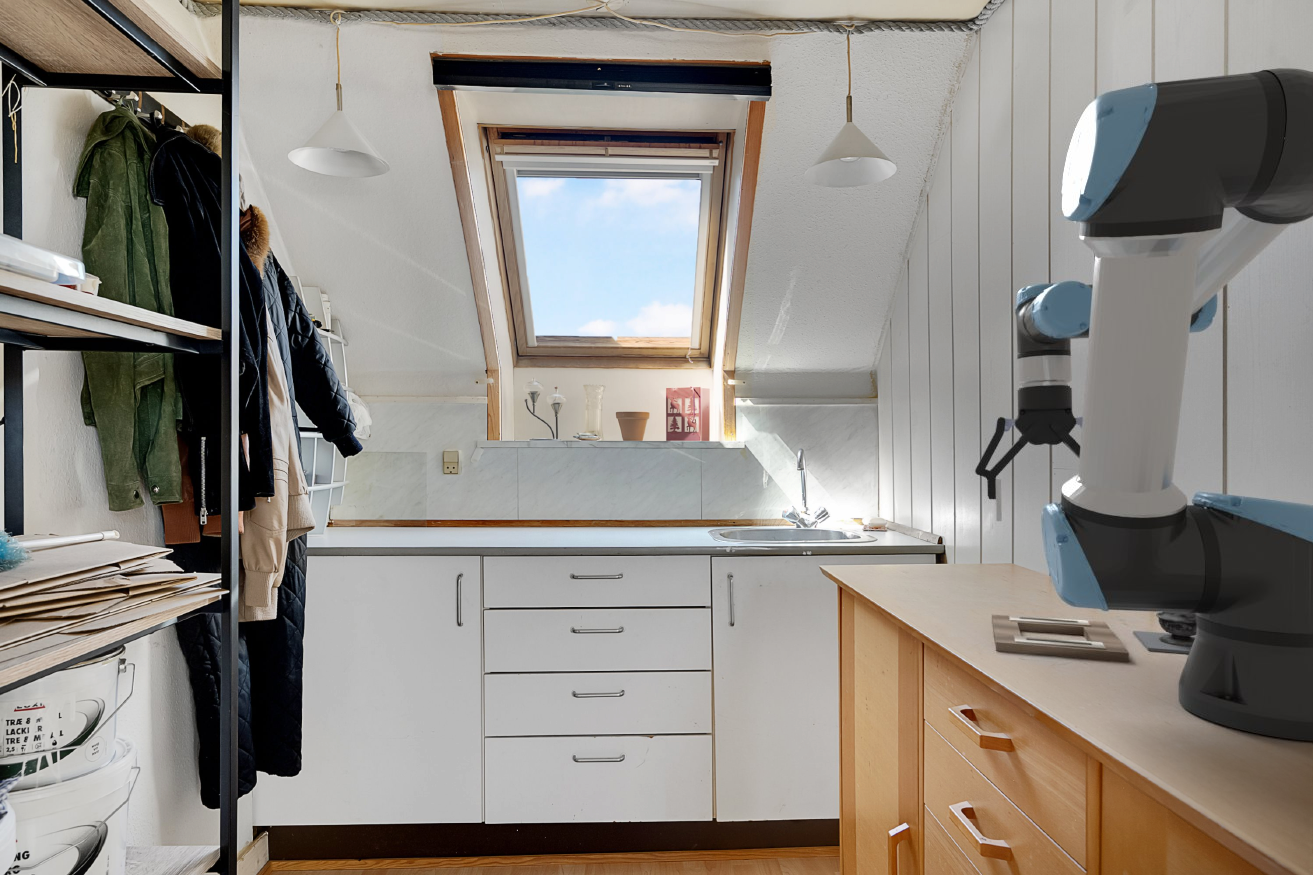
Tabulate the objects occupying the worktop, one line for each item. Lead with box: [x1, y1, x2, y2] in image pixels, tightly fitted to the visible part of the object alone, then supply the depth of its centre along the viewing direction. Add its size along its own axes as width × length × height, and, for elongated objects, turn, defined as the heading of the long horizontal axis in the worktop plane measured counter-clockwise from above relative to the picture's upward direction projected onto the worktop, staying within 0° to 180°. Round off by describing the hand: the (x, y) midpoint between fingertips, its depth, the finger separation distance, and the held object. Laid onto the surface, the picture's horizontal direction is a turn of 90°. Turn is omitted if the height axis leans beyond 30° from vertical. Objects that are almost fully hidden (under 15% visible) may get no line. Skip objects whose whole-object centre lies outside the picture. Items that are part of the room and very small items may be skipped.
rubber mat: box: [1132, 630, 1196, 655], centre depth 106 cm, size 10×10×1 cm
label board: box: [991, 614, 1130, 663], centre depth 110 cm, size 18×16×2 cm
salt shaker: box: [1155, 612, 1197, 647], centre depth 106 cm, size 6×6×12 cm
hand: (1046, 521), depth 116 cm, fingers open, 13 cm apart
